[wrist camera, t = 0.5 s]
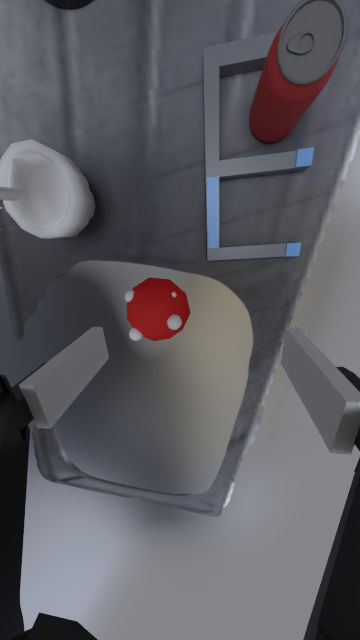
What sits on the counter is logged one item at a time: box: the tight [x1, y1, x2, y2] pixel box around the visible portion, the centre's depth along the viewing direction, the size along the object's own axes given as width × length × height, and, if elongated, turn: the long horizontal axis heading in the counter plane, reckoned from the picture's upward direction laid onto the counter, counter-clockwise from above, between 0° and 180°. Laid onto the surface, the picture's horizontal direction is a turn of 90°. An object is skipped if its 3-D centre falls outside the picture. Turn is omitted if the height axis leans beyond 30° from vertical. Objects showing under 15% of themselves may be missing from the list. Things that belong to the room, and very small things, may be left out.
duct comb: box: [203, 32, 314, 261], centre depth 30 cm, size 26×14×2 cm, turn 4°
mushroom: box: [125, 278, 190, 341], centre depth 35 cm, size 11×11×12 cm
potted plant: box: [0, 139, 96, 238], centre depth 25 cm, size 13×12×25 cm
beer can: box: [250, 0, 347, 143], centre depth 23 cm, size 7×7×12 cm
